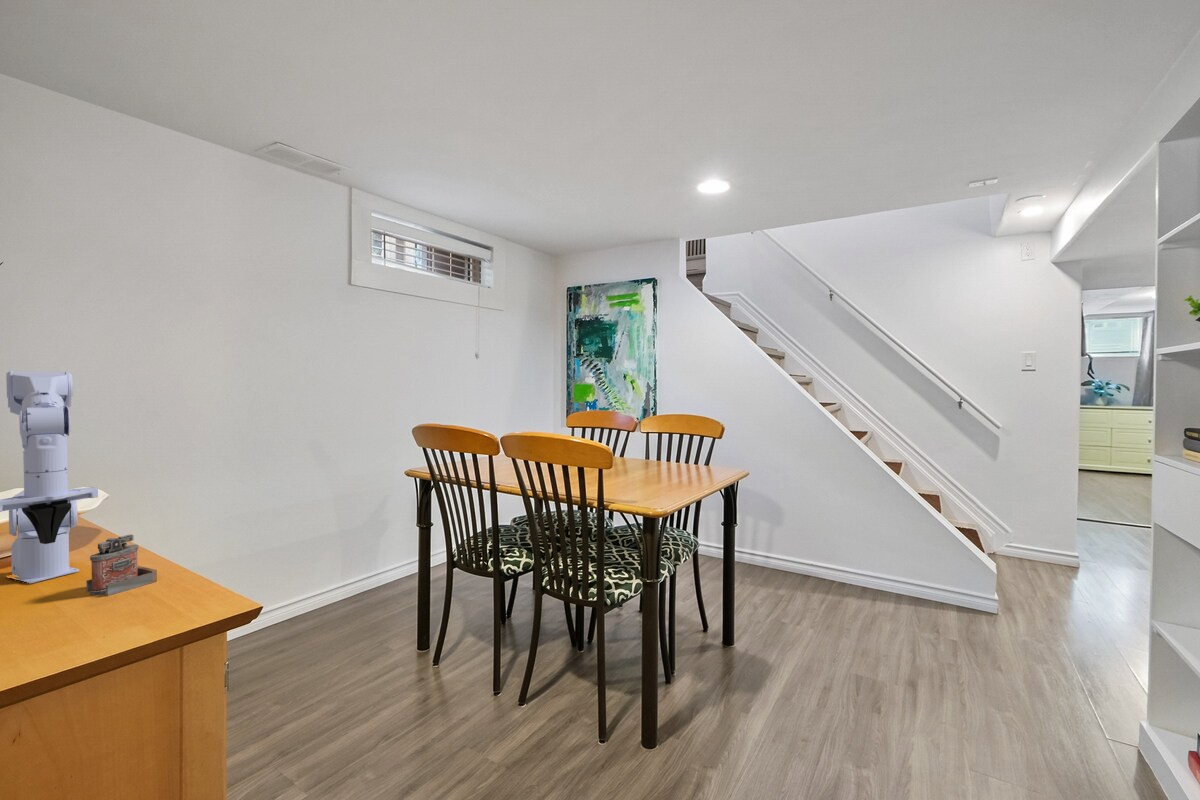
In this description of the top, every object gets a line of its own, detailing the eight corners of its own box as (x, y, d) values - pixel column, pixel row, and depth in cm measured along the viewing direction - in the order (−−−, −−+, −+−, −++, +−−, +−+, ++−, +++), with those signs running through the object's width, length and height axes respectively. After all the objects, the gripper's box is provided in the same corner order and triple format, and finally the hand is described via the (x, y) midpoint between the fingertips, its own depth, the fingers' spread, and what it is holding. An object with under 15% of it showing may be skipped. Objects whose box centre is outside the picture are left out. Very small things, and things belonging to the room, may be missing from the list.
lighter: (99, 596, 99) (99, 544, 99) (85, 595, 100) (84, 543, 100) (143, 581, 107) (143, 532, 107) (130, 580, 108) (129, 531, 108)
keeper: (86, 590, 102) (86, 578, 102) (135, 576, 110) (135, 565, 110) (107, 595, 100) (107, 583, 99) (156, 581, 107) (156, 569, 107)
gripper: (2, 478, 90) (3, 556, 90) (106, 466, 104) (107, 534, 104) (-19, 475, 93) (-17, 551, 93) (86, 464, 106) (87, 531, 106)
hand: (47, 542), depth 99 cm, fingers closed
